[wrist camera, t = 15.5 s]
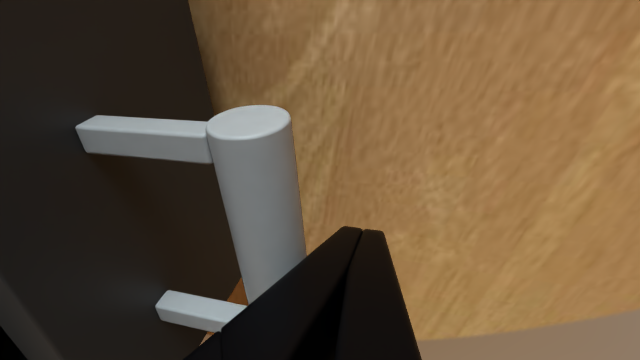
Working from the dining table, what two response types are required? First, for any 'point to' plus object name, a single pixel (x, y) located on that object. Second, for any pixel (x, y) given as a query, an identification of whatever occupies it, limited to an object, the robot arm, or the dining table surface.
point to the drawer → (130, 185)
